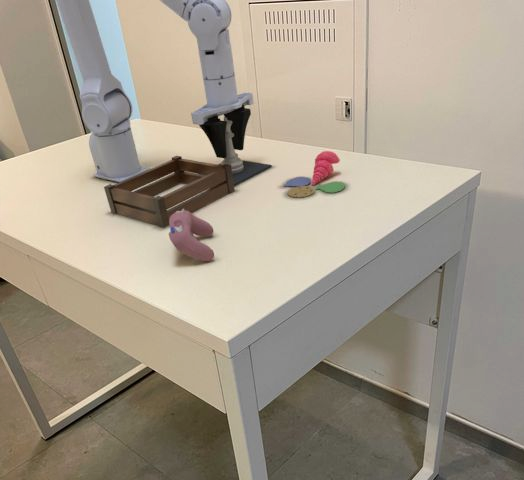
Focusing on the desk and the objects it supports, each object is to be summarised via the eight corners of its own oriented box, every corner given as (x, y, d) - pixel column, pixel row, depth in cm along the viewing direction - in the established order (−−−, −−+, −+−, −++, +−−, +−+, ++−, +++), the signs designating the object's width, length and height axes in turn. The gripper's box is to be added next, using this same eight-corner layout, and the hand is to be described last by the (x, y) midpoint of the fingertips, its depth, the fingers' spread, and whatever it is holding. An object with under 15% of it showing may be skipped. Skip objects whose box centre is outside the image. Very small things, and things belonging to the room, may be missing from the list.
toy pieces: (289, 173, 104) (287, 150, 101) (348, 171, 101) (348, 147, 99) (277, 198, 94) (275, 173, 92) (342, 196, 92) (342, 170, 89)
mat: (193, 178, 108) (193, 176, 108) (231, 160, 114) (231, 158, 114) (234, 186, 102) (234, 184, 102) (271, 166, 108) (271, 164, 108)
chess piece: (222, 167, 110) (214, 115, 104) (244, 165, 109) (237, 112, 103) (220, 175, 106) (212, 121, 100) (243, 173, 106) (235, 118, 100)
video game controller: (192, 245, 87) (164, 211, 83) (216, 230, 85) (188, 194, 82) (191, 275, 79) (160, 238, 75) (217, 258, 78) (186, 220, 74)
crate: (111, 212, 98) (103, 186, 95) (181, 179, 108) (176, 155, 105) (164, 228, 90) (157, 199, 87) (234, 190, 100) (231, 164, 97)
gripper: (206, 87, 91) (219, 168, 99) (261, 67, 100) (269, 144, 108) (177, 85, 95) (192, 163, 103) (233, 67, 104) (243, 140, 112)
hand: (230, 153), depth 106 cm, fingers open, 4 cm apart
